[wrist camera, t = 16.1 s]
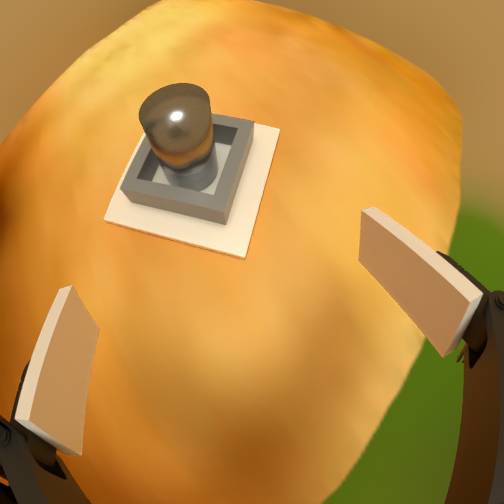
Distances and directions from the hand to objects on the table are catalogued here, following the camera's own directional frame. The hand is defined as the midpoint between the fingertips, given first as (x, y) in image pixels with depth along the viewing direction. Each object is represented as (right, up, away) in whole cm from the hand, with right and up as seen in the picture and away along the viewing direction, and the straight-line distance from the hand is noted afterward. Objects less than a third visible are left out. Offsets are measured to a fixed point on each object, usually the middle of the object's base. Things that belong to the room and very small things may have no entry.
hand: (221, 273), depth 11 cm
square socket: (-4, +9, +15) cm, 18 cm away
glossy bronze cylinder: (-4, +9, +14) cm, 17 cm away
